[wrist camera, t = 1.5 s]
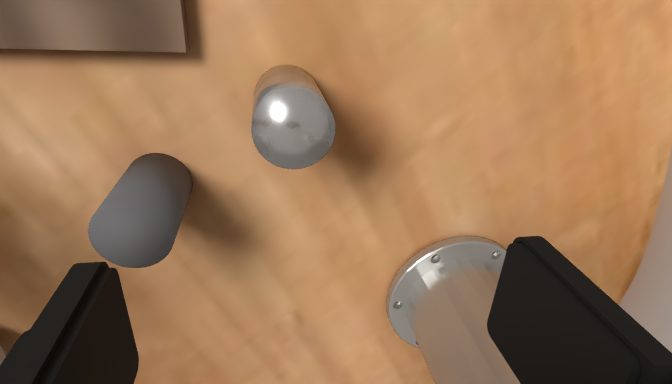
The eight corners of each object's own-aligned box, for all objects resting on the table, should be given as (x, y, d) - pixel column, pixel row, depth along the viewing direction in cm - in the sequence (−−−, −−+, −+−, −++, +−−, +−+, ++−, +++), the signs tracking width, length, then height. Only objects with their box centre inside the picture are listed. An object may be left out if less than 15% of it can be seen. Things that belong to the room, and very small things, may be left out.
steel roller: (320, 65, 27) (337, 89, 21) (318, 129, 29) (333, 168, 23) (252, 64, 26) (249, 88, 20) (255, 129, 28) (253, 170, 22)
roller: (188, 152, 28) (168, 199, 22) (195, 208, 30) (178, 265, 24) (120, 153, 28) (79, 202, 21) (132, 210, 30) (97, 270, 23)
